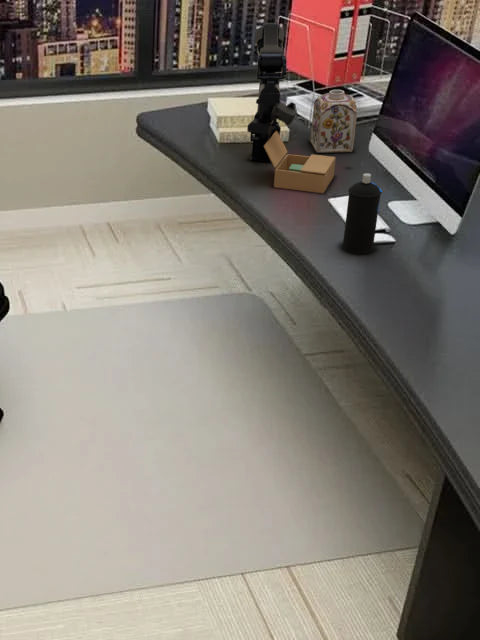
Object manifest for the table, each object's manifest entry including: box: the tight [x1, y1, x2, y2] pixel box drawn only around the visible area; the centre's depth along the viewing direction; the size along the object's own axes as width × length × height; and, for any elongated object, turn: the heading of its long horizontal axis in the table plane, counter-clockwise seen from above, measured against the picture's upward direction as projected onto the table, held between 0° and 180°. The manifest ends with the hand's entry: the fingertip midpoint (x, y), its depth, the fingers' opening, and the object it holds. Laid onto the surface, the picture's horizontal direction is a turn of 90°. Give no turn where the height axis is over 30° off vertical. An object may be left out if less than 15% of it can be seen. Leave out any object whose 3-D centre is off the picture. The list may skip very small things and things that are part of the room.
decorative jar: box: [309, 89, 358, 154], centre depth 318 cm, size 12×12×18 cm
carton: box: [273, 153, 336, 194], centre depth 298 cm, size 15×14×6 cm
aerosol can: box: [341, 173, 383, 255], centre depth 255 cm, size 8×8×20 cm
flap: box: [264, 131, 288, 169], centre depth 298 cm, size 7×14×1 cm
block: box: [289, 164, 305, 173], centre depth 299 cm, size 4×4×4 cm
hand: (264, 147), depth 299 cm, fingers closed, pressing on flap
